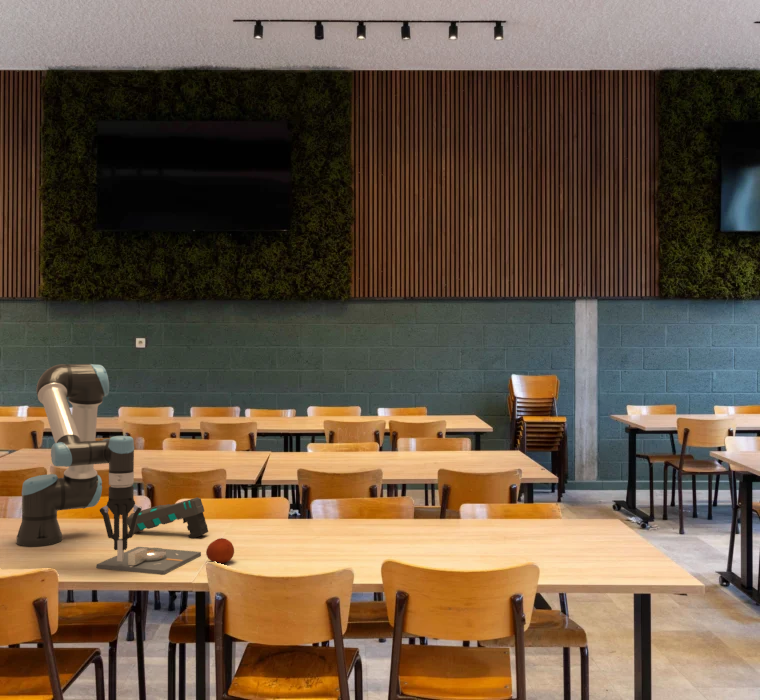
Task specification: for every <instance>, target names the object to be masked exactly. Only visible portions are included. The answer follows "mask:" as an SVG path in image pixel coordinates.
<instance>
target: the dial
mask: <svg viewBox="0 0 760 700" xmlns="http://www.w3.org/2000/svg"><path fill="white" fill-rule="evenodd" d="M165 549H166V548H161V547H148V548H139V549H137V550H135V551H133V552H130V553H128V565H137V564H139V563H141V562H151V561H159V560H162V559H165V558H166V550H165Z"/></svg>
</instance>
